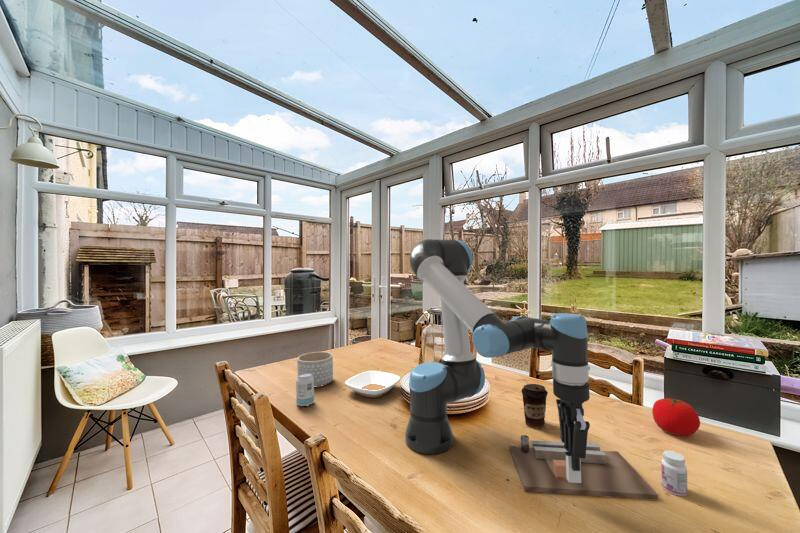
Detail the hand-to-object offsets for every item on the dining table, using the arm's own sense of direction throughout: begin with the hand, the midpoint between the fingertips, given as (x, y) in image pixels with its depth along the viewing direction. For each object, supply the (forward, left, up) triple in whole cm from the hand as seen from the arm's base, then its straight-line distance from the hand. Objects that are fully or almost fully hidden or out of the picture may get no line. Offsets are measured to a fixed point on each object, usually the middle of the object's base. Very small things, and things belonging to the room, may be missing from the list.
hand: (573, 480), depth 74 cm
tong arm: (+4, +13, -3) cm, 14 cm away
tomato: (+44, +34, -5) cm, 56 cm away
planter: (-91, +67, -5) cm, 113 cm away
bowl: (-61, +59, -5) cm, 85 cm away
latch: (0, +7, -3) cm, 8 cm away
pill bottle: (+25, +6, -5) cm, 26 cm away
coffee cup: (+1, +35, -5) cm, 35 cm away
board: (+4, +10, -5) cm, 12 cm away
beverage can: (-86, +44, -5) cm, 96 cm away
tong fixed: (+3, +17, -3) cm, 17 cm away
